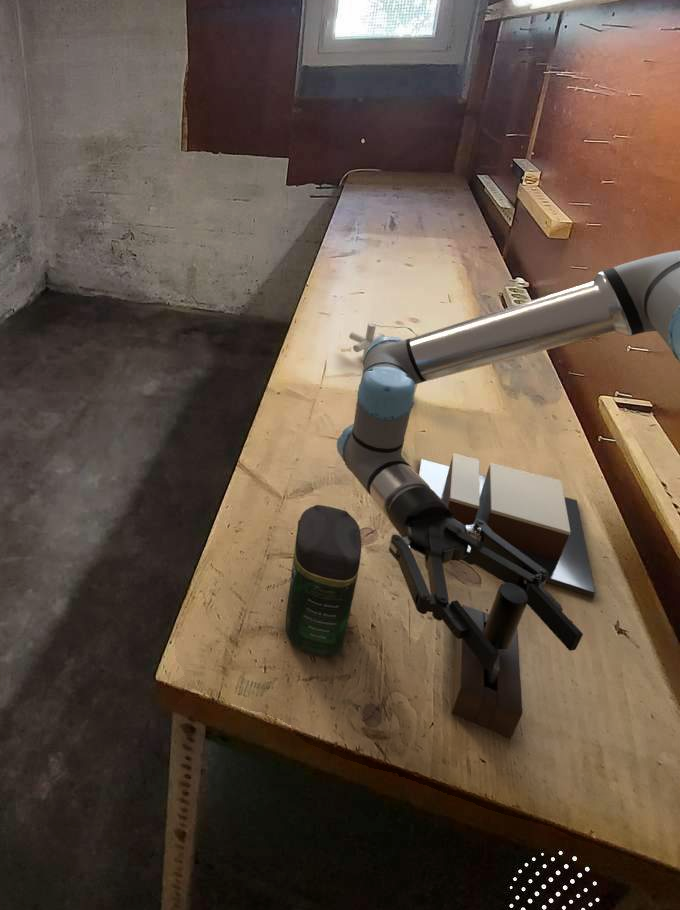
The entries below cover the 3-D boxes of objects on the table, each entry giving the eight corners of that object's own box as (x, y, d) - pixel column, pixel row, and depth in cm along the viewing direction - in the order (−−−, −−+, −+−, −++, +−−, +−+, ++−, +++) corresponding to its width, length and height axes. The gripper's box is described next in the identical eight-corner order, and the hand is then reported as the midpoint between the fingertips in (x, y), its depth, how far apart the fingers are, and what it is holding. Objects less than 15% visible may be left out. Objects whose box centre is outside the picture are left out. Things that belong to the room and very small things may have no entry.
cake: (550, 508, 93) (561, 480, 91) (558, 561, 84) (570, 532, 81) (482, 489, 98) (490, 462, 95) (482, 537, 88) (491, 509, 86)
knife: (468, 647, 74) (498, 561, 67) (493, 656, 73) (526, 570, 66) (467, 704, 68) (500, 616, 61) (494, 715, 66) (530, 627, 59)
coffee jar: (344, 667, 72) (365, 566, 64) (281, 649, 75) (293, 550, 66) (345, 602, 80) (364, 506, 72) (289, 588, 83) (300, 493, 74)
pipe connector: (396, 362, 138) (403, 326, 134) (371, 375, 133) (377, 338, 129) (361, 346, 146) (366, 312, 141) (336, 358, 141) (341, 323, 137)
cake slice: (471, 486, 98) (479, 459, 96) (470, 534, 89) (479, 506, 86) (446, 479, 100) (453, 452, 98) (442, 525, 91) (450, 497, 88)
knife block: (455, 629, 76) (463, 604, 74) (507, 648, 73) (517, 623, 71) (451, 713, 67) (460, 687, 65) (511, 739, 64) (522, 713, 62)
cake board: (575, 504, 95) (576, 500, 95) (593, 597, 80) (595, 593, 79) (420, 462, 106) (421, 458, 105) (409, 538, 90) (410, 533, 90)
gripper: (473, 511, 84) (611, 653, 64) (335, 536, 81) (435, 694, 61) (485, 472, 81) (634, 609, 61) (341, 497, 77) (449, 651, 58)
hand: (535, 652), depth 61 cm, fingers open, 10 cm apart
